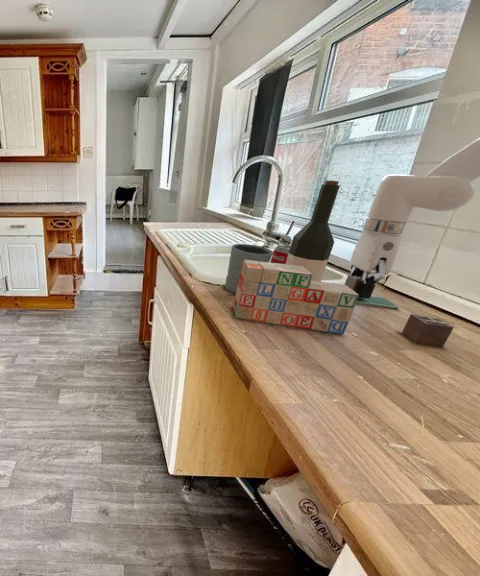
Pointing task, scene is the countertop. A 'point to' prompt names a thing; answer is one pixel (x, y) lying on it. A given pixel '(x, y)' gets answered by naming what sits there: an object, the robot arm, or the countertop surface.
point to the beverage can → (280, 254)
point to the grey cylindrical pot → (237, 259)
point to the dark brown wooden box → (427, 330)
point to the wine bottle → (315, 235)
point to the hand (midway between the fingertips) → (356, 293)
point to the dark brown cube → (355, 282)
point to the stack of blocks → (292, 298)
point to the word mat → (376, 302)
